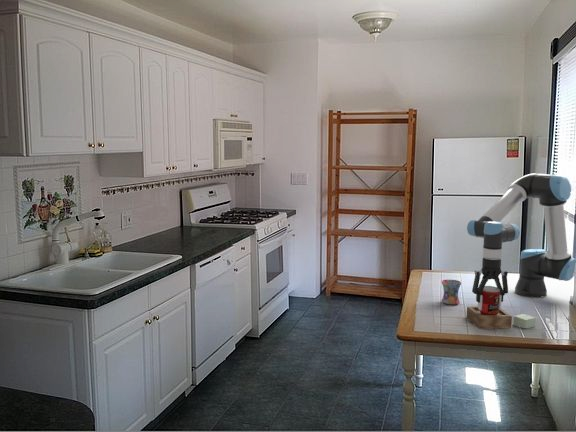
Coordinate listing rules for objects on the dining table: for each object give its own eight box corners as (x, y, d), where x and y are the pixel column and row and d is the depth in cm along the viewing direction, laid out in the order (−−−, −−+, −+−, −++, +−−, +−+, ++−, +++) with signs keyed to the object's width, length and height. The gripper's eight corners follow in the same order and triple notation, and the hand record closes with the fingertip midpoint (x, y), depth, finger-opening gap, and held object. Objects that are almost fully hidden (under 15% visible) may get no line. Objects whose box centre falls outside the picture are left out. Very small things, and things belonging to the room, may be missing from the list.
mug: (456, 307, 261) (457, 285, 259) (437, 303, 266) (438, 282, 264) (464, 301, 270) (465, 280, 269) (446, 297, 276) (447, 277, 274)
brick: (522, 322, 240) (523, 313, 239) (534, 326, 234) (535, 317, 234) (513, 324, 237) (514, 316, 236) (525, 329, 231) (526, 320, 231)
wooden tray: (497, 317, 246) (497, 306, 245) (511, 327, 232) (511, 316, 231) (466, 317, 245) (467, 306, 245) (478, 328, 232) (479, 316, 231)
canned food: (489, 316, 233) (491, 291, 231) (475, 311, 240) (476, 287, 238) (502, 314, 236) (504, 289, 235) (488, 308, 243) (489, 284, 242)
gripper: (511, 255, 239) (508, 306, 242) (465, 256, 238) (462, 306, 241) (519, 259, 231) (516, 311, 235) (471, 260, 230) (469, 312, 234)
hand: (489, 309), depth 238 cm, fingers closed on canned food, 8 cm apart
